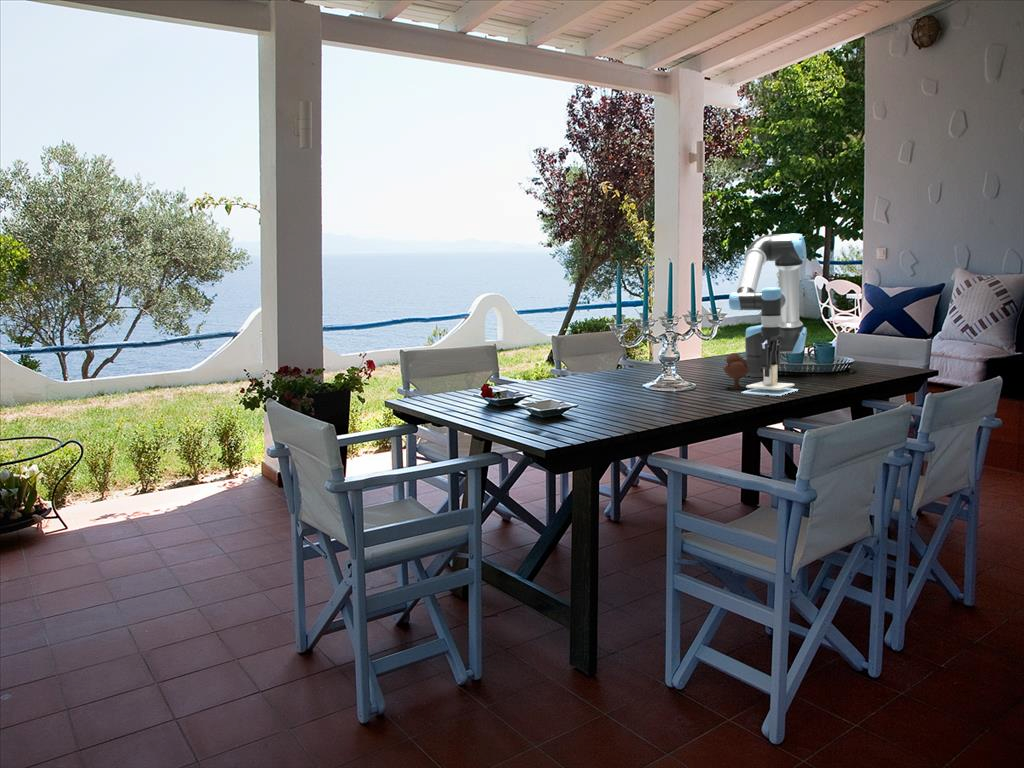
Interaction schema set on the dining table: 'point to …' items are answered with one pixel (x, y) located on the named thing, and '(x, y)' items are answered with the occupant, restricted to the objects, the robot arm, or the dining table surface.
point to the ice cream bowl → (736, 369)
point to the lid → (774, 383)
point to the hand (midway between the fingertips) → (770, 383)
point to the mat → (769, 392)
